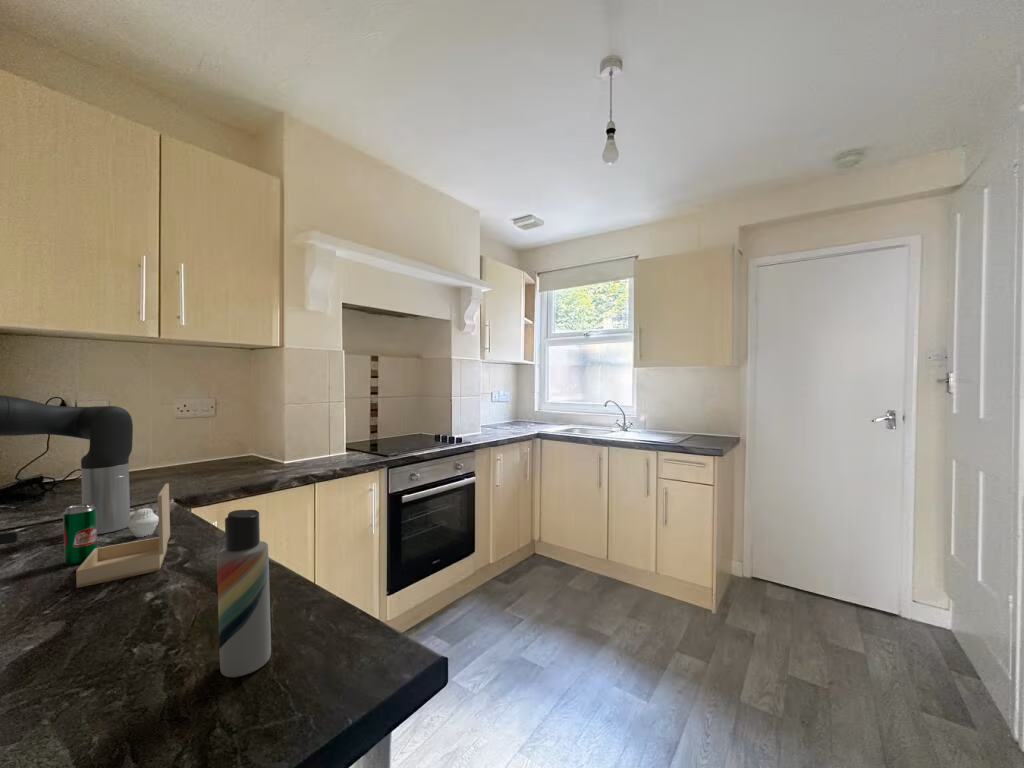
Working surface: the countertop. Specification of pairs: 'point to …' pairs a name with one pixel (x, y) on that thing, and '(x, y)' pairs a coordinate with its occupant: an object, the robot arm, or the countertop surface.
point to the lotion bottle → (243, 596)
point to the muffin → (143, 522)
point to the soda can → (79, 533)
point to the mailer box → (129, 553)
